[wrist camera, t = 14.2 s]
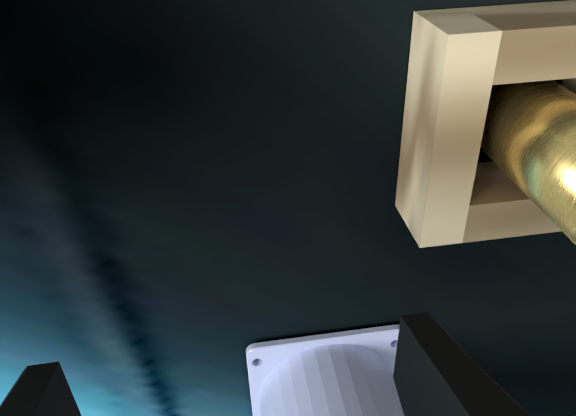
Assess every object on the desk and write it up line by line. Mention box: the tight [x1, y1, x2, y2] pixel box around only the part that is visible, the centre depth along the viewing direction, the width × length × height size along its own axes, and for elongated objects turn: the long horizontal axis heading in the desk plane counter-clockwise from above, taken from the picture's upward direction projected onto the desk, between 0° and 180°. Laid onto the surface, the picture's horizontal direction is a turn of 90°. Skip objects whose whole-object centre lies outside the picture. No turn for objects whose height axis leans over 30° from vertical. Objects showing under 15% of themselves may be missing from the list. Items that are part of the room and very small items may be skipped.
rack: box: [395, 0, 576, 248], centre depth 20 cm, size 8×8×3 cm
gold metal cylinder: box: [480, 80, 576, 245], centre depth 18 cm, size 3×3×8 cm
